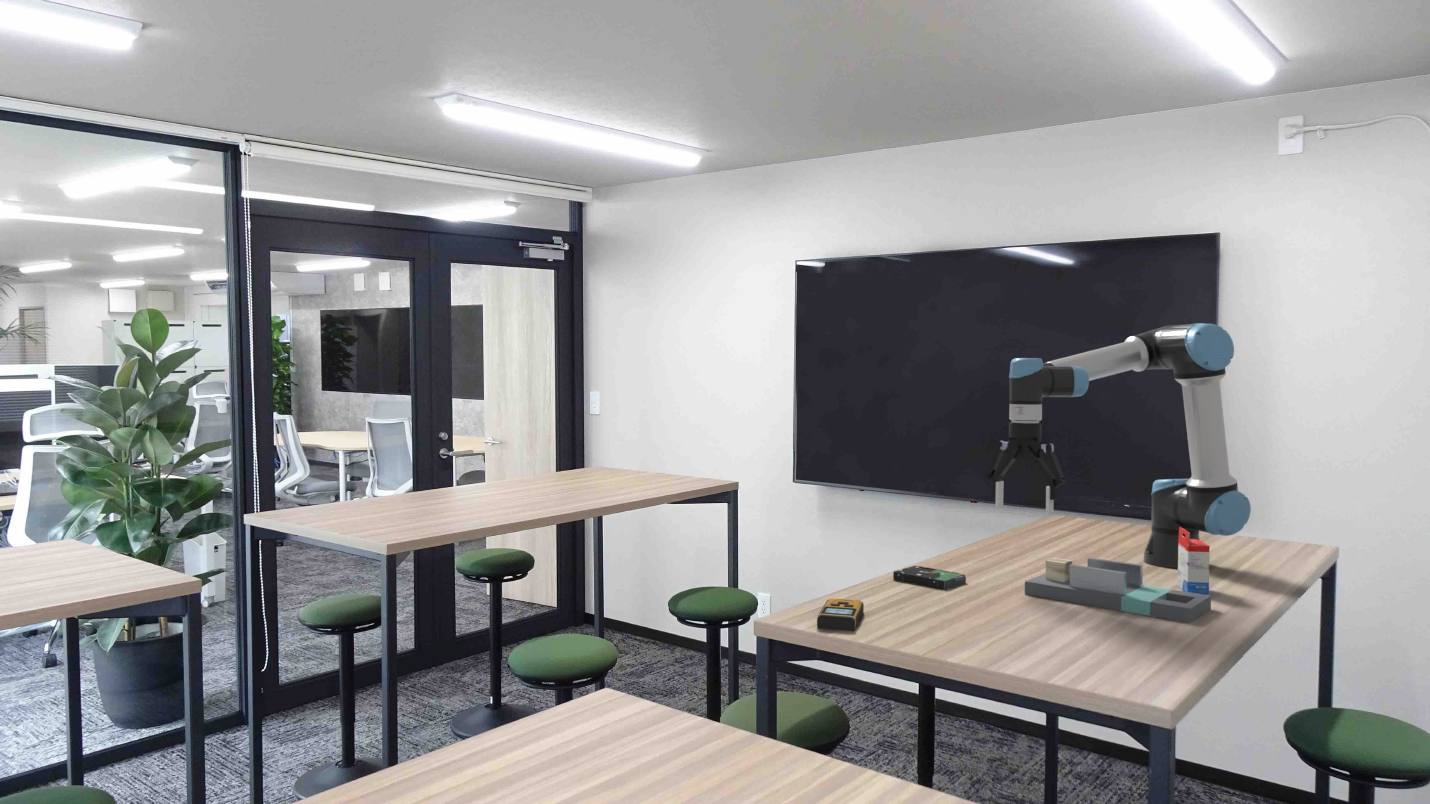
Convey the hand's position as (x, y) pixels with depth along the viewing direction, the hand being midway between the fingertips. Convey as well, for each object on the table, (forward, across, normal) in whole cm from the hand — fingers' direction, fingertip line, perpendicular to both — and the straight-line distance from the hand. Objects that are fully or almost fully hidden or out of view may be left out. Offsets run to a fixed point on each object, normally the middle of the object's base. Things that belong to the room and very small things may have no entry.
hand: (1023, 510), depth 226 cm
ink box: (+19, +32, +23) cm, 44 cm away
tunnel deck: (+18, +22, 0) cm, 29 cm away
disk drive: (+19, -19, -11) cm, 29 cm away
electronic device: (+19, -15, -55) cm, 60 cm away
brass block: (+15, +9, 0) cm, 18 cm away
